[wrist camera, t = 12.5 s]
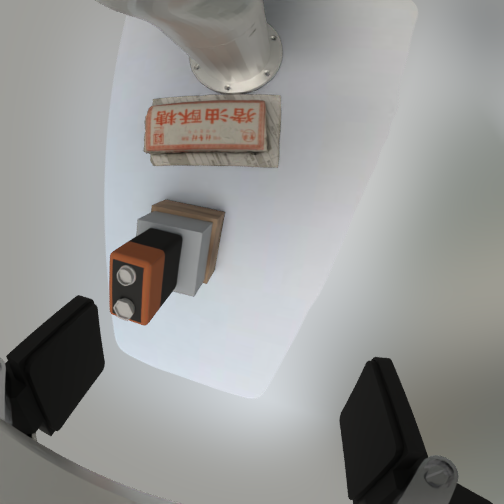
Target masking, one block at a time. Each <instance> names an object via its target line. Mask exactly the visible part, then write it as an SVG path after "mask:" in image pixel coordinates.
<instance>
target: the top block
mask: <svg viewBox="0 0 504 504" xmlns="http://www.w3.org/2000/svg"><path fill="white" fill-rule="evenodd" d="M212 225H213V223H212V222H208V221H203V220H198V219H193V218H188V217H183V216H178V215H173V214H168V213H163V212H158V211H153V212H151V213H149V214H147V215H145V216H143V217H141V218H139V219H138V220H137V233H136V236H138V235H140V234H141V233H143V232H144V231H146V230H148V229H149V228H154V229H158V230H162V231H166V232H170V233H174V234H178V235H181V236H182V247H181V254H180V261H179V269H178V277H177V284H176V287H175V289H174V290H173V292H177V293H181V294H185V295H189V296H193V297H194V296H195V294H196V293H197V291H198V289H199V288H200V286H201V285H202V283H203V281H204V279H205V272H206V265H207V258H208V251H209V244H210V238H211V231H212Z"/></svg>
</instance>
